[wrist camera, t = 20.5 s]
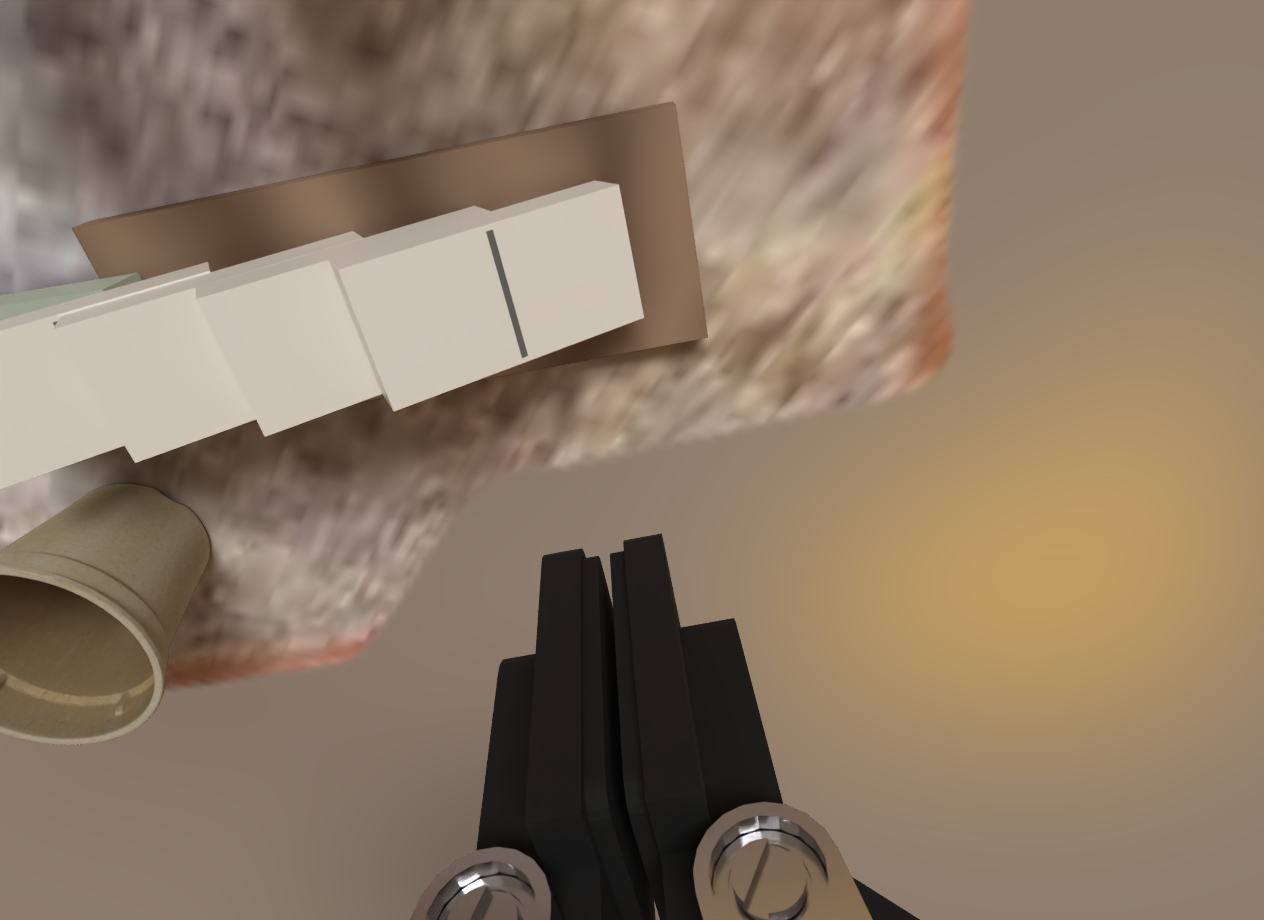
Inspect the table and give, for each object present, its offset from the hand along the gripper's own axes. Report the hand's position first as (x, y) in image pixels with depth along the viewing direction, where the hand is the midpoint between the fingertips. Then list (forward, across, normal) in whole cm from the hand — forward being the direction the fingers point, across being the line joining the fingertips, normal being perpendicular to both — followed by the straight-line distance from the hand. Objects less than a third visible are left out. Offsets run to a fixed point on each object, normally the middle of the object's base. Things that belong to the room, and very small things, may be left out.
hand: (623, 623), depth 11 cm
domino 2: (+21, +8, 0) cm, 22 cm away
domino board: (+23, +8, 0) cm, 24 cm away
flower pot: (+23, +24, +10) cm, 35 cm away
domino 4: (+21, -1, 0) cm, 21 cm away
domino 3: (+21, +4, 0) cm, 21 cm away
